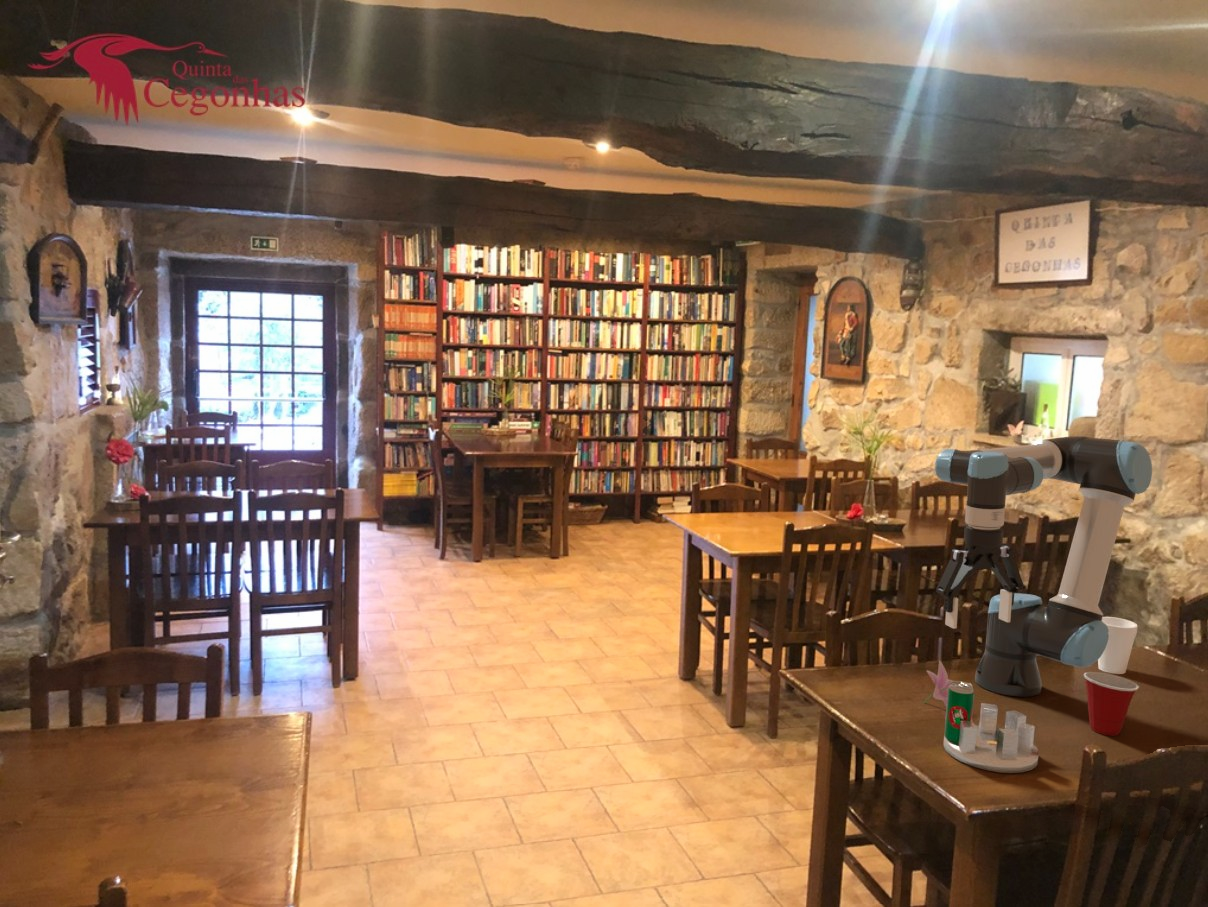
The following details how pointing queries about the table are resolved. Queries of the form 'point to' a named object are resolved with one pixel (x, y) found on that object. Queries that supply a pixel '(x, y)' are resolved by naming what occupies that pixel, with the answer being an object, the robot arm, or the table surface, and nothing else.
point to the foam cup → (1117, 645)
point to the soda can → (958, 708)
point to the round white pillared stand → (996, 743)
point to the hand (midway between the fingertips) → (977, 623)
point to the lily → (940, 684)
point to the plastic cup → (1108, 701)
